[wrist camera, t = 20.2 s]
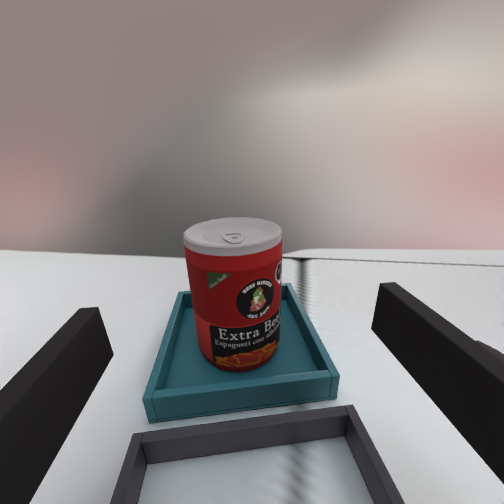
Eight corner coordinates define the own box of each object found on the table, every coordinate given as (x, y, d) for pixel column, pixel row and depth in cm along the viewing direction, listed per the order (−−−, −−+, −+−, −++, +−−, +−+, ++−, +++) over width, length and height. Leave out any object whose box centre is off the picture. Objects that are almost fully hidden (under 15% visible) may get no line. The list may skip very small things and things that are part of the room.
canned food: (214, 391, 18) (197, 255, 14) (190, 328, 24) (173, 224, 20) (298, 353, 21) (304, 233, 17) (256, 306, 27) (253, 213, 23)
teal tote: (289, 298, 29) (290, 282, 28) (336, 398, 17) (340, 375, 16) (181, 308, 28) (178, 291, 27) (148, 423, 16) (141, 399, 15)
